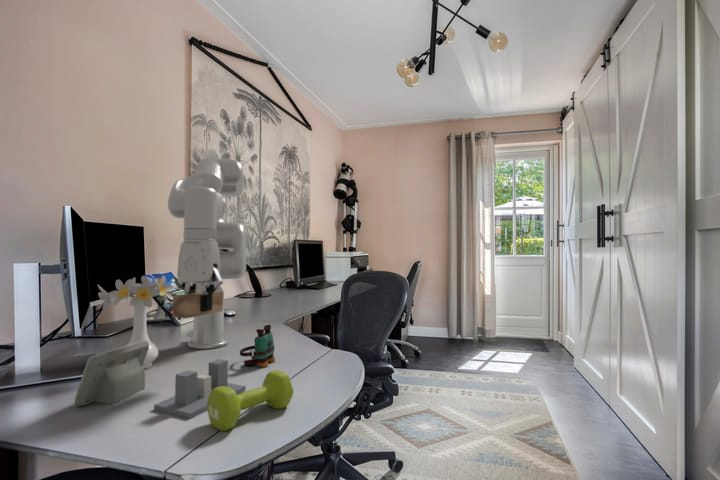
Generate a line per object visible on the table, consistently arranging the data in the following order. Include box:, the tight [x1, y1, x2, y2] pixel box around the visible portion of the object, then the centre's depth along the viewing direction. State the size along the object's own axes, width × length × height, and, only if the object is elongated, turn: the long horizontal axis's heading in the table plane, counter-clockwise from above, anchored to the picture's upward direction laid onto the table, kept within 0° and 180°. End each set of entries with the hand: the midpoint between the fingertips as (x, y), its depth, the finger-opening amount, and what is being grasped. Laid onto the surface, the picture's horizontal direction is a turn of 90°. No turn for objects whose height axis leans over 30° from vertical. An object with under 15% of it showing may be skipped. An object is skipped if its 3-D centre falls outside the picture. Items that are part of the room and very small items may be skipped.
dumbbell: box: [207, 369, 294, 432], centre depth 76 cm, size 16×8×7 cm, turn 139°
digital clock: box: [74, 341, 149, 407], centre depth 86 cm, size 16×9×11 cm, turn 157°
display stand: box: [153, 358, 247, 420], centre depth 83 cm, size 10×16×7 cm, turn 157°
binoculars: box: [239, 324, 276, 368], centre depth 110 cm, size 9×11×10 cm
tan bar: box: [172, 291, 223, 319], centre depth 95 cm, size 4×12×5 cm, turn 157°
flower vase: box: [97, 275, 176, 370], centre depth 105 cm, size 13×18×25 cm
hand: (199, 309), depth 95 cm, fingers closed on tan bar, 4 cm apart
